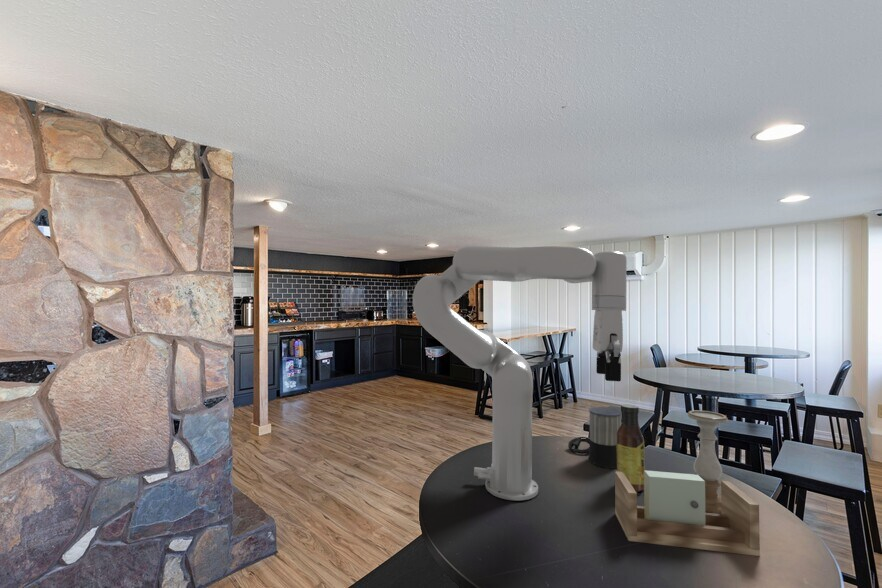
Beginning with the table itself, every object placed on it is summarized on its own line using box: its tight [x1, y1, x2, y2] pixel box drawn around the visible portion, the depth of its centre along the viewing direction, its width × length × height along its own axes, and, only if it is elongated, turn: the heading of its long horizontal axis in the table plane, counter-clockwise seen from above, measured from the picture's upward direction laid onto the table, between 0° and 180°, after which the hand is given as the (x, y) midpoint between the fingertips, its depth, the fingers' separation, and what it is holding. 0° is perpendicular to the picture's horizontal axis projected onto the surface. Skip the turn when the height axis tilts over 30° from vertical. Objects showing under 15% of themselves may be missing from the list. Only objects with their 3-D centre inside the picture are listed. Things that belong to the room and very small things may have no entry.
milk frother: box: [567, 406, 622, 469], centre depth 117 cm, size 14×16×15 cm
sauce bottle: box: [616, 403, 646, 493], centre depth 98 cm, size 6×6×20 cm
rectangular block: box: [643, 469, 706, 526], centre depth 77 cm, size 10×4×10 cm, turn 80°
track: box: [614, 470, 761, 557], centre depth 77 cm, size 22×10×9 cm, turn 79°
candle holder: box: [687, 409, 729, 514], centre depth 89 cm, size 9×9×20 cm
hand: (607, 377), depth 92 cm, fingers open, 9 cm apart
